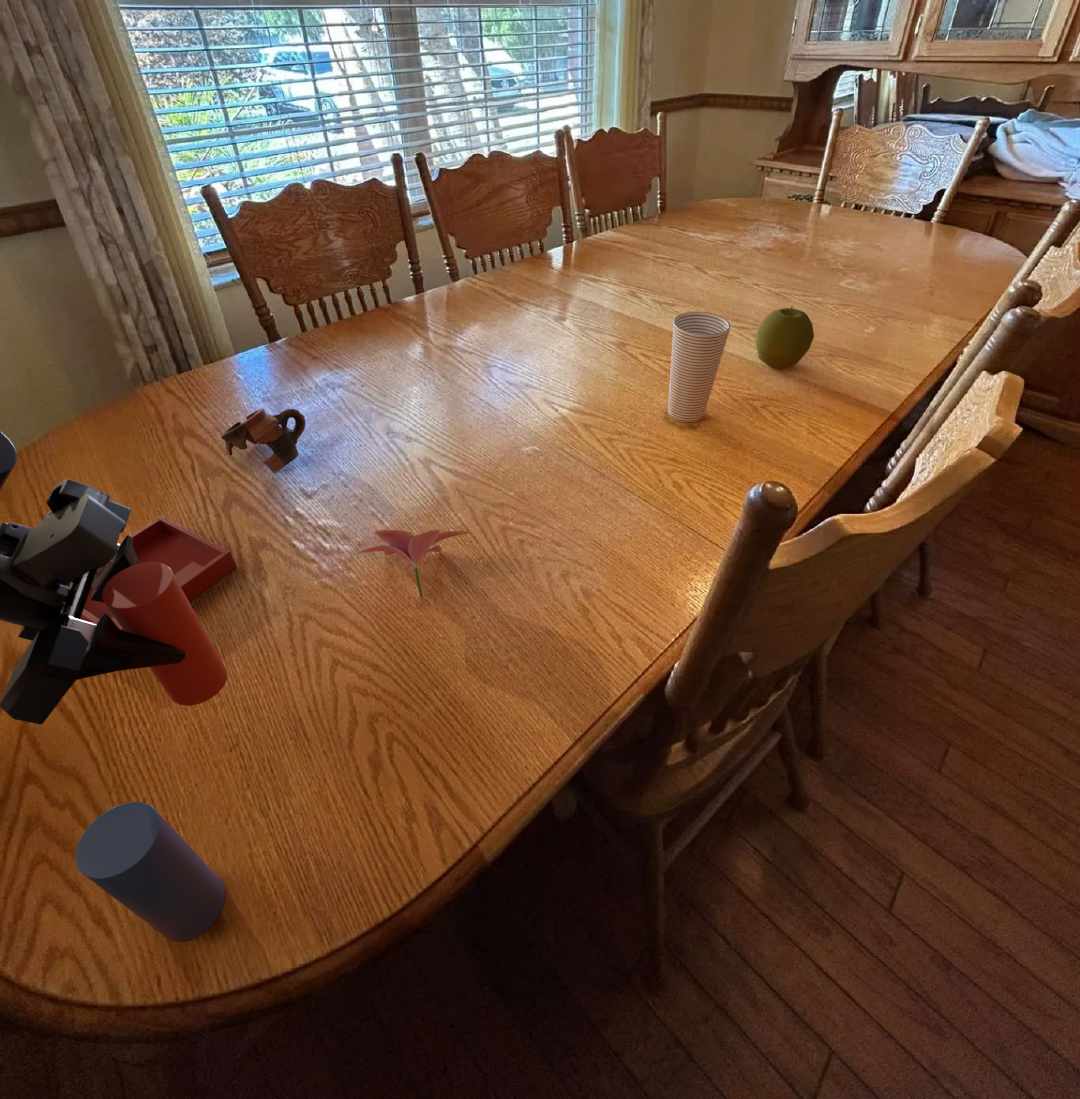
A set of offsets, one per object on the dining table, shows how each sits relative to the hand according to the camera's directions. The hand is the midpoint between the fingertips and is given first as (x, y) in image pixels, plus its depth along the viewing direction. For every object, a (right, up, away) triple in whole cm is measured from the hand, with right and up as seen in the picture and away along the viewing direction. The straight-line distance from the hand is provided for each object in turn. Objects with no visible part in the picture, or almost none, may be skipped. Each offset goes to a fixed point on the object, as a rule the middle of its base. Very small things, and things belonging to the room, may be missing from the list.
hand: (187, 633), depth 54 cm
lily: (+15, +4, +24) cm, 29 cm away
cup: (+54, +30, +52) cm, 81 cm away
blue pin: (+2, -21, -3) cm, 22 cm away
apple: (+75, +42, +65) cm, 107 cm away
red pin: (-1, -5, +4) cm, 7 cm away
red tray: (-17, +3, +23) cm, 29 cm away
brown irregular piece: (-11, +22, +43) cm, 49 cm away
